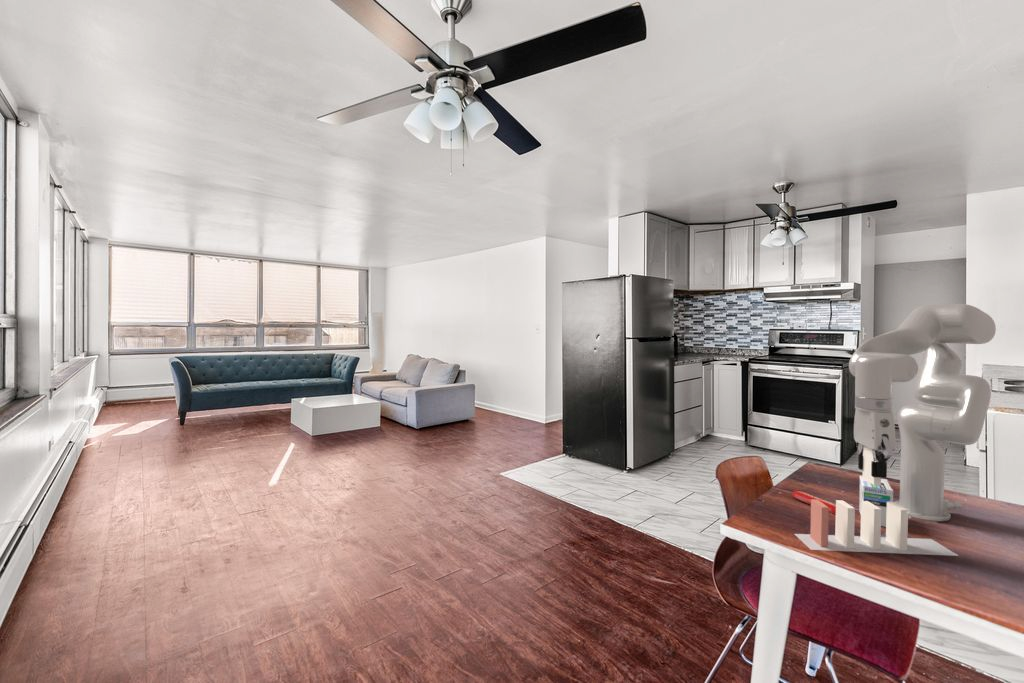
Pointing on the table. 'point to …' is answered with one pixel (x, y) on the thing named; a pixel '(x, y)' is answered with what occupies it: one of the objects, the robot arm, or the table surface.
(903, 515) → the domino
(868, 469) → the domino
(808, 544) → the felt strip
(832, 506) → the candy bar
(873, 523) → the domino
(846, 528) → the domino
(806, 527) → the table surface
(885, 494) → the light bulb box
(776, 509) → the table surface
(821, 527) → the domino
